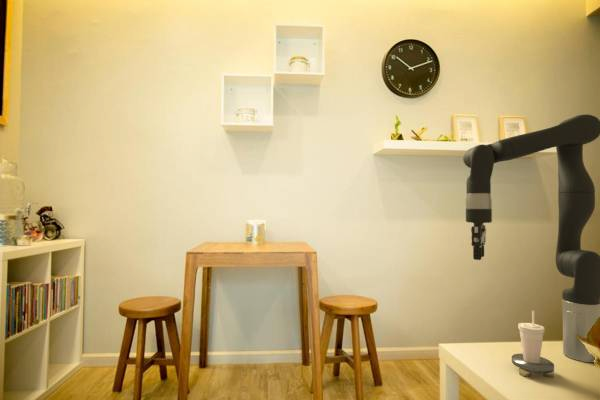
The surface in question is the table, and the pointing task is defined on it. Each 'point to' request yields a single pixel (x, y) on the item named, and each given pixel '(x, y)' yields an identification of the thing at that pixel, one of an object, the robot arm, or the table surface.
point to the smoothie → (531, 340)
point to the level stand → (533, 366)
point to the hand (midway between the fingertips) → (478, 258)
